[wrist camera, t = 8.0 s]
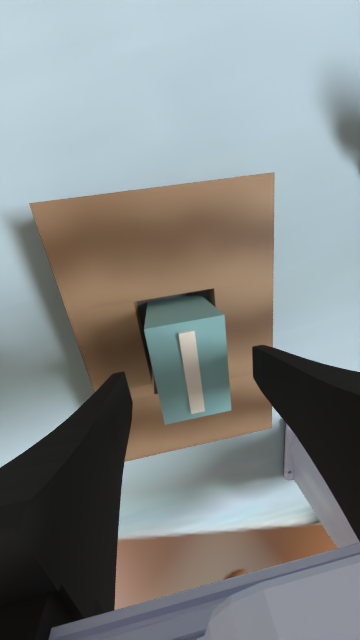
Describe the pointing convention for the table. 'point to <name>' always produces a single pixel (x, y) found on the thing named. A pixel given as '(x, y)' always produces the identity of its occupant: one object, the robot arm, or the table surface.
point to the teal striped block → (188, 357)
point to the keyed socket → (167, 289)
